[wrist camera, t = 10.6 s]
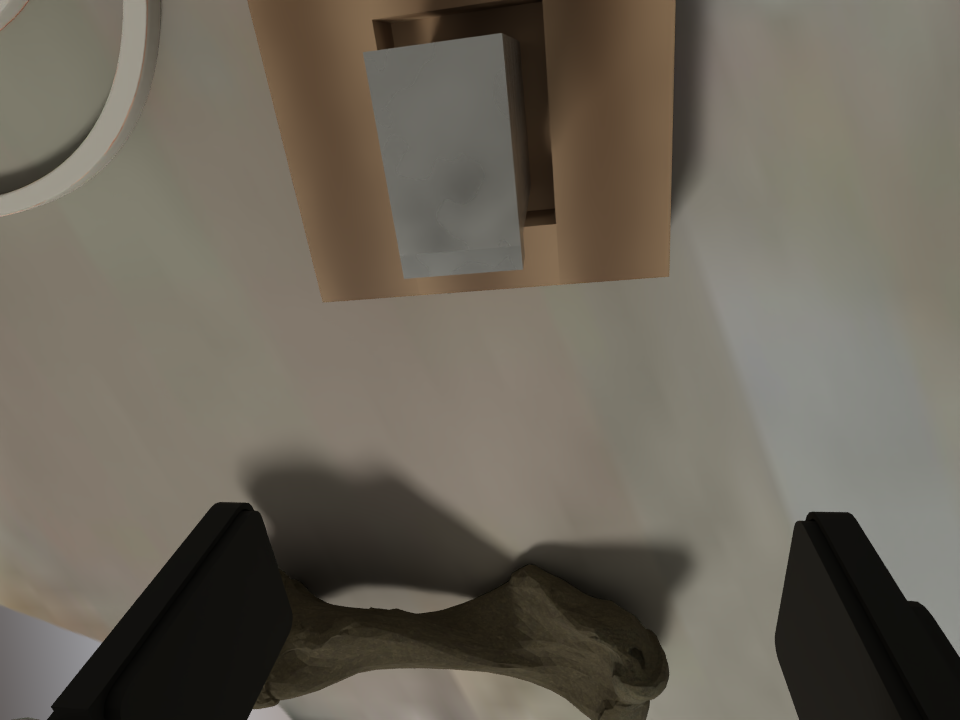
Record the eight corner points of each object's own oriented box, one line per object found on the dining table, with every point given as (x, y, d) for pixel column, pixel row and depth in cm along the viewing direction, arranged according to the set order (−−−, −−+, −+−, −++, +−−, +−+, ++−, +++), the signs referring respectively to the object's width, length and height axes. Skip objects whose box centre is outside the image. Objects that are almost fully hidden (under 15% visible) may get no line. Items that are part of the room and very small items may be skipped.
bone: (701, 681, 34) (154, 651, 31) (645, 766, 40) (176, 750, 36) (653, 543, 43) (218, 507, 39) (612, 629, 48) (228, 605, 45)
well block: (659, -95, 23) (678, -122, 20) (655, 250, 30) (669, 276, 26) (279, -33, 26) (235, -47, 22) (348, 275, 32) (322, 302, 28)
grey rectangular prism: (519, 41, 25) (501, 33, 16) (532, 202, 28) (523, 269, 19) (427, 54, 26) (362, 52, 17) (449, 210, 29) (403, 278, 20)
